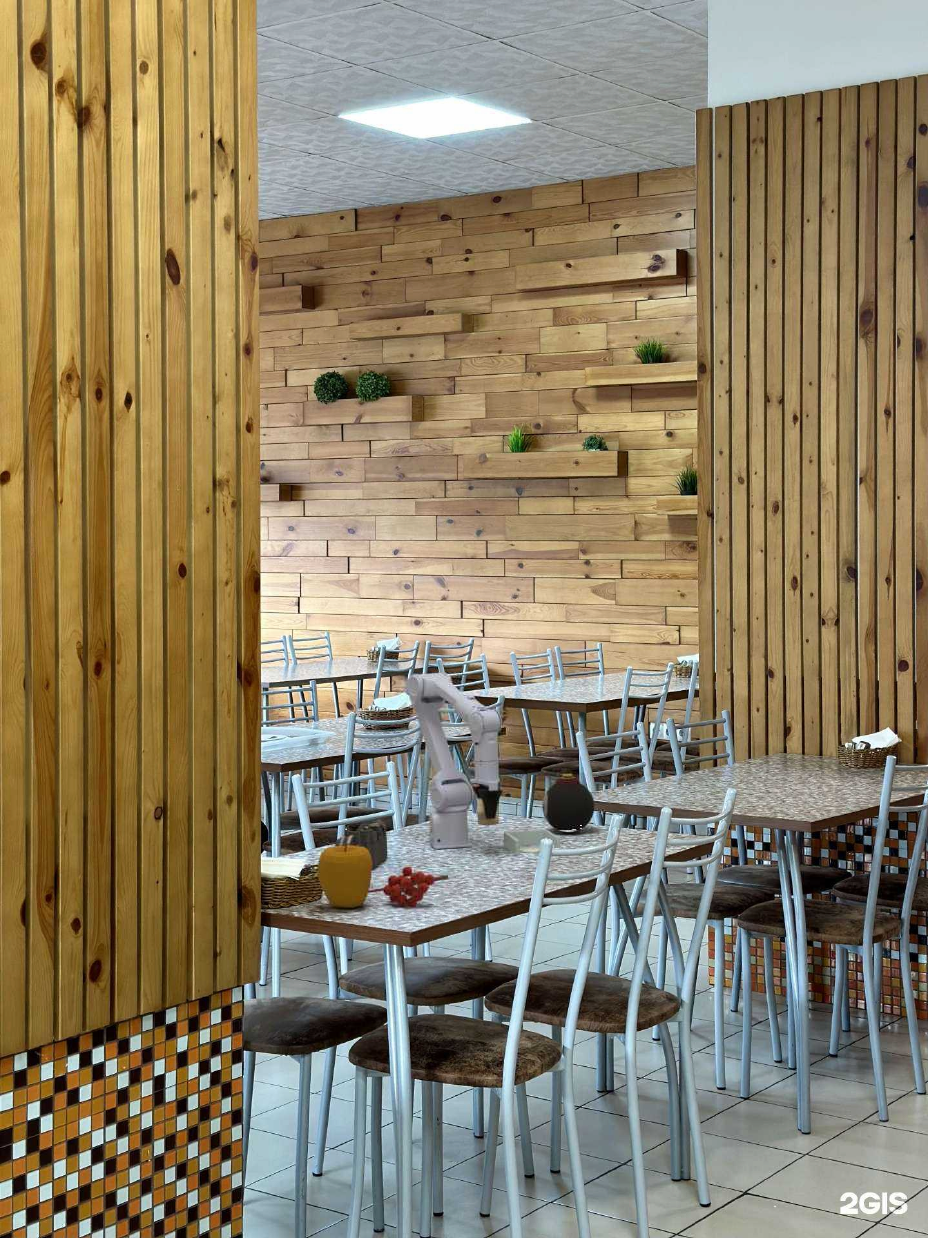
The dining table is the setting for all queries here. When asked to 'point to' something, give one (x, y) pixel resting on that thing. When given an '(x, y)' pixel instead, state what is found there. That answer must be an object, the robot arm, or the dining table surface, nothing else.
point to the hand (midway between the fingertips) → (488, 817)
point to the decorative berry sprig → (408, 886)
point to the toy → (568, 804)
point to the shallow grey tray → (528, 840)
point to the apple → (345, 875)
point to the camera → (369, 841)
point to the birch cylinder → (482, 817)
